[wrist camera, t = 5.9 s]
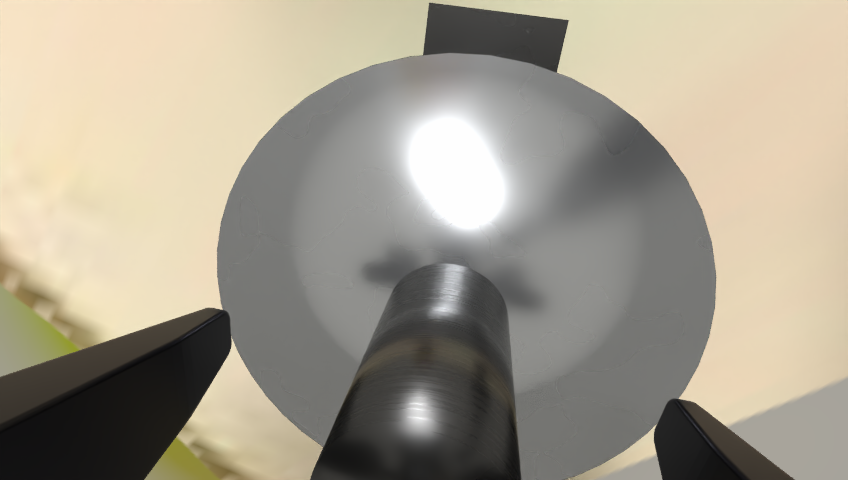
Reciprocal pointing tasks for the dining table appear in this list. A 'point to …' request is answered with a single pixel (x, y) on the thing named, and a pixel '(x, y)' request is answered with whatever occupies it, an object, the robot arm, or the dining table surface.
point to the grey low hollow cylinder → (495, 34)
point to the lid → (465, 272)
